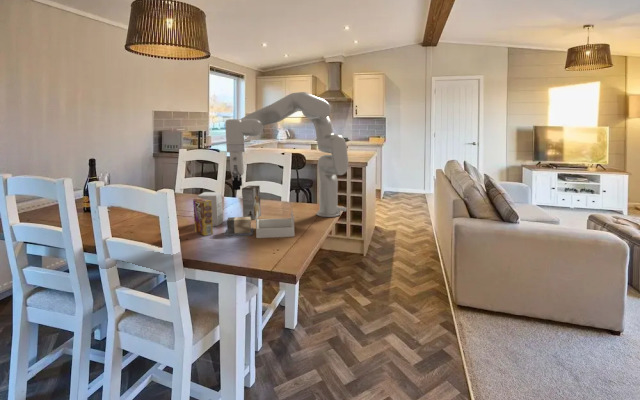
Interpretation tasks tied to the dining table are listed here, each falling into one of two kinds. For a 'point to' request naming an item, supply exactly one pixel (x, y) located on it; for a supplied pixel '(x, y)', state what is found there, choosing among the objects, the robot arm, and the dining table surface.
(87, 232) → the dining table surface
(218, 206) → the supplement box
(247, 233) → the mat
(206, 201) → the candy box
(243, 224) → the block
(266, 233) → the grey open box
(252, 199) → the coffee box
